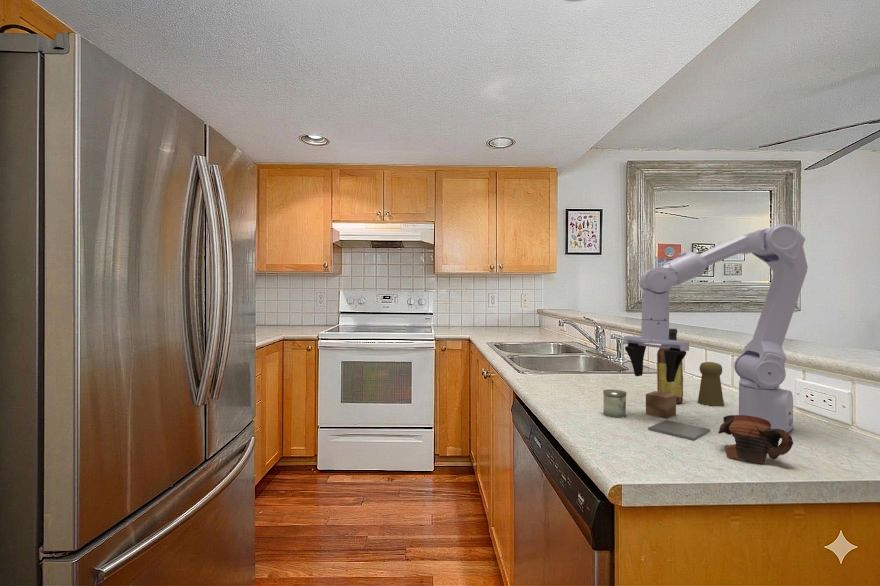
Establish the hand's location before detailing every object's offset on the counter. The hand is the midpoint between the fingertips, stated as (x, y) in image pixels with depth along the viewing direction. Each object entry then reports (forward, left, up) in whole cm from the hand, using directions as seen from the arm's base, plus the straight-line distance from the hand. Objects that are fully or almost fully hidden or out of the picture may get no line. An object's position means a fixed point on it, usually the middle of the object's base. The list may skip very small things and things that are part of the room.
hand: (654, 378), depth 101 cm
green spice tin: (+8, +3, -10) cm, 13 cm away
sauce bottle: (+5, -21, -10) cm, 24 cm away
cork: (-3, -27, -10) cm, 29 cm away
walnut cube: (+1, -6, -10) cm, 11 cm away
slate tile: (-7, +4, -10) cm, 13 cm away
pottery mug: (-22, +9, -10) cm, 26 cm away
